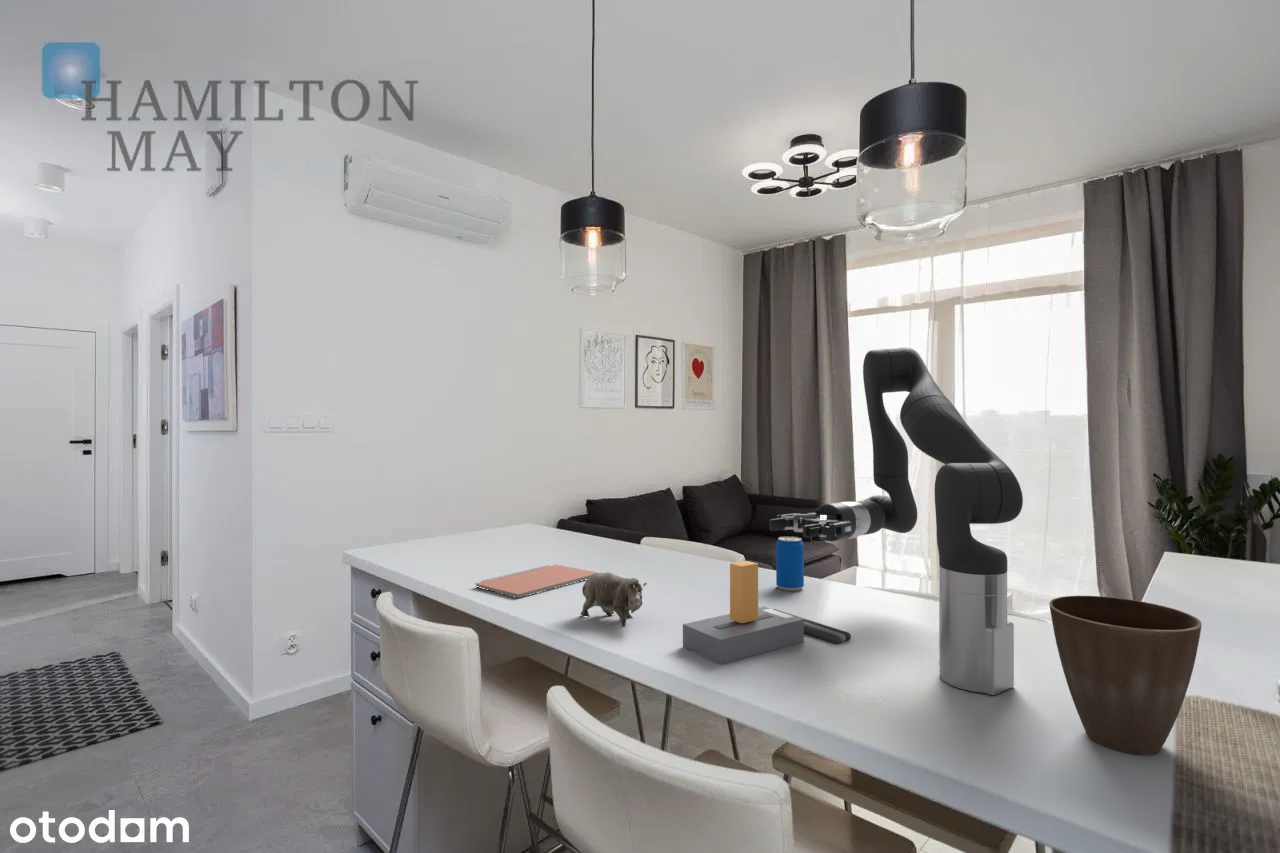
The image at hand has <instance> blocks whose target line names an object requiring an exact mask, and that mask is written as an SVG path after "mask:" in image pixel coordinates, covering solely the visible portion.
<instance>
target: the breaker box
mask: <svg viewBox="0 0 1280 853" xmlns="http://www.w3.org/2000/svg"><path fill="white" fill-rule="evenodd" d="M774 609H775V608H770V607H767V606H761V607H759V606H758V620H754V621H750V622H746V623H739V622H736V621H734V620H731V619H730V613H729V614H728V613H727V614H723V615H719V616H714V617H710V618H705V619H701V620H695V621H691V622H688V623H687V622H686V623H683V624H682V648H684V649H686V648H687V650H689V651H691V652H693V653H695V654H698V655H699V656H702V657H703V658H706V659H708V660H709V661H712V662H715V663H716V664H719V665H723V664H726V663H730V662H734V661H738V660H741V659H744V658H749V657H752V656H756V655H760V654H762V653H766V652H767V653H768V652H769V651H773V650H778V649H781V648H784V647H788V646H792V645H795V644H796V645H797V644H798V643H803V642H805V633H804V619H805V618H804V619H802V618H803V617H801V618H799V617H800V616H798V617H796V616H797V615H795V616H792V615H793V614H792V615H789V614H790V613H789V614H786V613H787V612H785V613H783V612H784V611H782V612H780V611H781V610H779V611H777V610H778V609H776V610H774Z"/></svg>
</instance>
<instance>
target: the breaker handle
mask: <svg viewBox="0 0 1280 853" xmlns="http://www.w3.org/2000/svg"><path fill="white" fill-rule="evenodd" d="M758 608H759V563H757V562H753V561H748V560H742V561H737V562H730V563H729V614H730V619H731V620H734V621H736V622H739V623H746V622H750V621H754V620H758Z"/></svg>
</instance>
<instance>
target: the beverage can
mask: <svg viewBox="0 0 1280 853" xmlns="http://www.w3.org/2000/svg"><path fill="white" fill-rule="evenodd" d="M777 539H778V540H777V541H776V544H775V546H776V547H775V553H776V554H775V556H776V559H775V560H776V561H775V565H776V567H775V569H776V570H775V571H776V572H775V574H776V575H775V577H776V582H775V584H776V586H777V587H778V588H779V589H780V590H782V589H783V591H787V592H788V591H789V592H795V591H800V590H801V589H803V588H804V586H805V581H804V580H805V562H804V561H805V559H804V558H805V553H804V551H805V547H804V546H805V545H804V542H803V540H802V537H798V536H779V537H778V538H777Z"/></svg>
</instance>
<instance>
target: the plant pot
mask: <svg viewBox="0 0 1280 853" xmlns="http://www.w3.org/2000/svg"><path fill="white" fill-rule="evenodd" d="M1048 604H1049V605H1048V606H1049V611H1050V616H1051V617H1050V618H1051V622H1052V628H1053V634H1054V638H1055V643H1056V646H1057V652H1058V656H1059V660H1060V663H1061V664H1060V665H1061V667H1062V670H1063V671H1062V672H1063V674H1064V677H1065V681H1066V683H1067V687H1068V690H1069V693H1070V696H1071V699H1072V701H1073V704H1074V706H1075V709H1076V712H1077V714H1078V717H1079V719H1080V722H1081V724H1082V726H1083V729H1084V730H1085V734H1086V735H1087V736H1088V737H1089V738H1090V739H1091V740H1092V741H1094V742H1096V743H1097V744H1099V745H1101V746H1104V747H1105V748H1109V749H1111V750H1114V751H1117V752H1118V751H1119V752H1122V753H1126V754H1131V755H1143V756H1149V755H1155V754H1157V753H1159V752H1160V751H1161V750H1162V748H1163V747H1164V745H1165V743H1166V742H1167V739H1168V737H1169V736H1170V733H1171V731H1172V729H1173V726H1174V725H1175V723H1176V720H1177V718H1178V716H1179V713H1180V712H1181V708H1182V705H1183V703H1184V700H1185V697H1186V695H1187V691H1188V689H1189V685H1190V683H1191V679H1192V675H1193V671H1194V668H1195V667H1194V666H1195V663H1196V662H1195V661H1196V658H1197V654H1198V647H1199V645H1200V644H1199V643H1200V637H1201V632H1202V626H1203V625H1202V624H1203V623H1202V622H1201V620H1200V619H1199V618H1198V617H1196V616H1194V615H1192V614H1190V613H1187V612H1185V611H1182V610H1180V609H1175V608H1173V607H1168V606H1165V605H1161V604H1156V603H1151V602H1146V601H1140V600H1135V599H1128V598H1120V597H1112V596H1100V595H1099V596H1097V595H1067V596H1058V597H1055V598H1053V599H1051V600H1050V601H1049V603H1048Z"/></svg>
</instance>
